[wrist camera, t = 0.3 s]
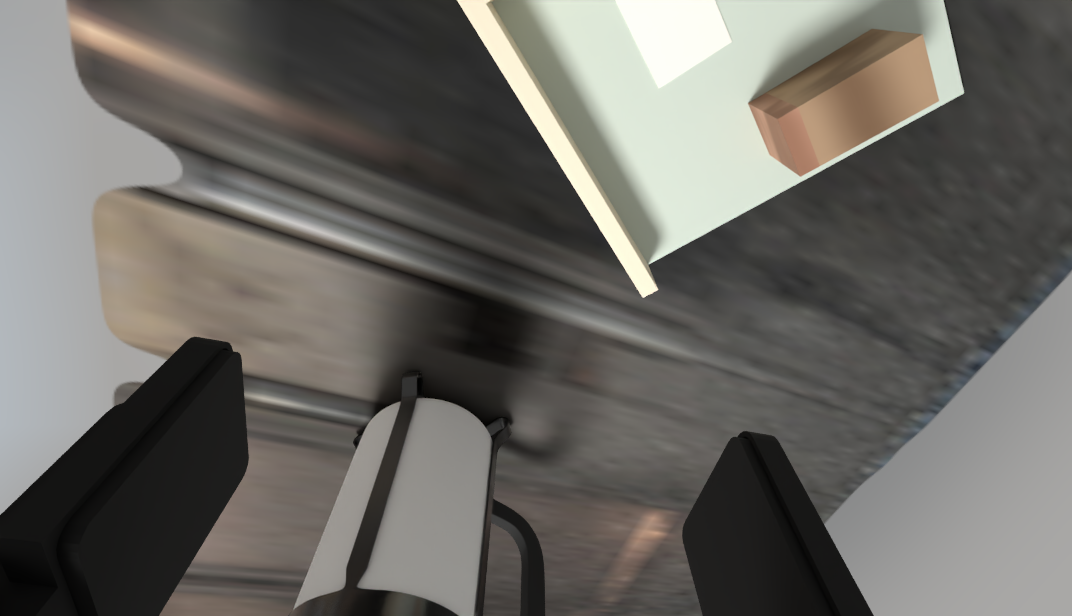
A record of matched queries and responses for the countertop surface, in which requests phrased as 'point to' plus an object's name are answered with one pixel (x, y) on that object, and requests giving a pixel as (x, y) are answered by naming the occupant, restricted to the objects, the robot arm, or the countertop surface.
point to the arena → (679, 99)
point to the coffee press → (418, 518)
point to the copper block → (845, 99)
